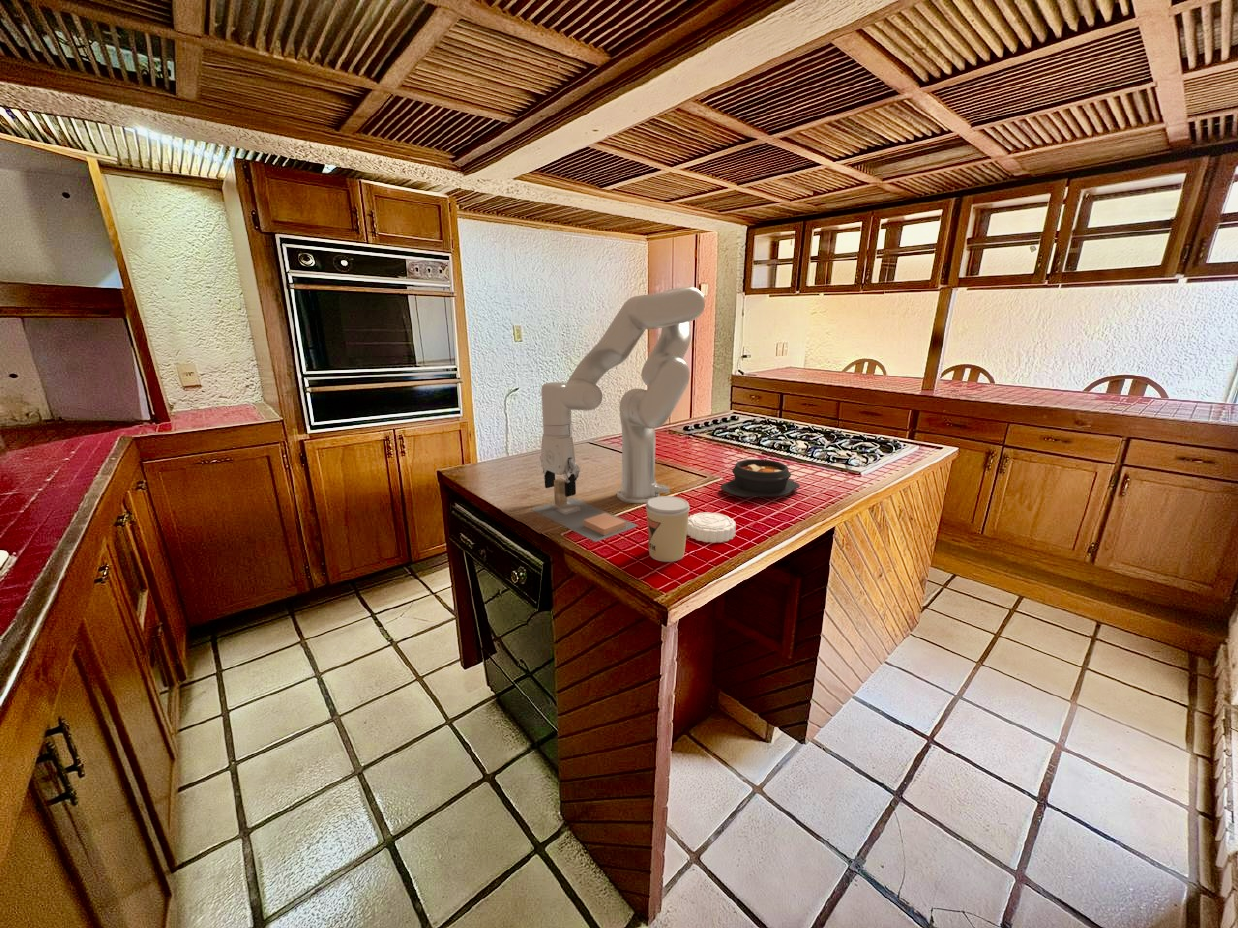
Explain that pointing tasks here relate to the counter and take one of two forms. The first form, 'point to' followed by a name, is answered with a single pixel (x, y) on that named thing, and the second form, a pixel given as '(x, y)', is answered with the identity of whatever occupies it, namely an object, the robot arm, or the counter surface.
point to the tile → (604, 524)
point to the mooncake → (711, 527)
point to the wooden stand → (562, 499)
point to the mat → (580, 519)
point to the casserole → (760, 479)
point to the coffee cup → (667, 527)
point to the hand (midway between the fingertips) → (560, 491)
